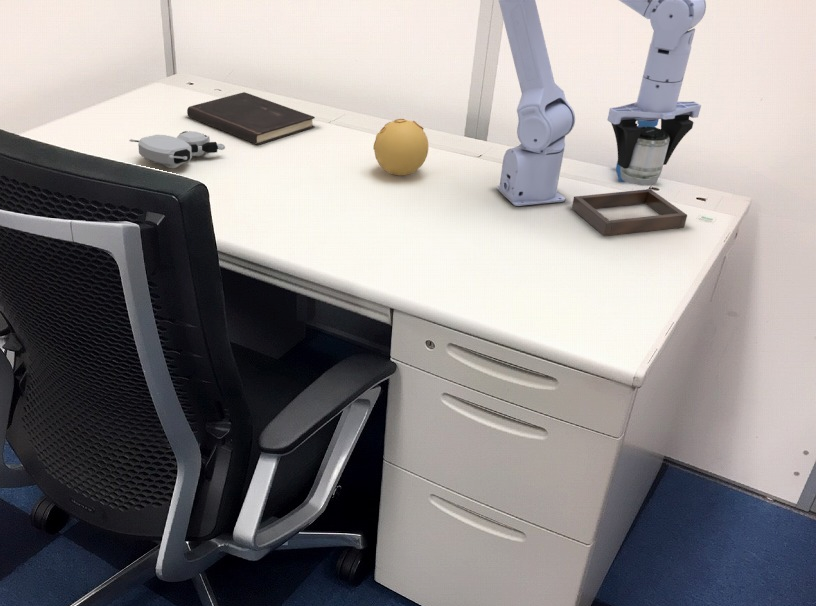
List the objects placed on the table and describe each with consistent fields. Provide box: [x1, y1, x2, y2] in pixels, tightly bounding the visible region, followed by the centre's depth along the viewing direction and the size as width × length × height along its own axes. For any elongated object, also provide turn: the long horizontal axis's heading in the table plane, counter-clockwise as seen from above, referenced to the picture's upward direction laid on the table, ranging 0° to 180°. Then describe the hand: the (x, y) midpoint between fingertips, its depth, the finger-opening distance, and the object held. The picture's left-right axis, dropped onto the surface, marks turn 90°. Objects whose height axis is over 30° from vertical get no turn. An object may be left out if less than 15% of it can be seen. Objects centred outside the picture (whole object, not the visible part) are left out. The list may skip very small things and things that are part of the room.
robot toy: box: [129, 130, 226, 169], centre depth 162 cm, size 12×4×15 cm
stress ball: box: [373, 118, 429, 176], centre depth 155 cm, size 10×10×10 cm
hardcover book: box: [186, 91, 316, 146], centre depth 180 cm, size 16×23×2 cm
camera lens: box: [620, 126, 670, 186], centre depth 135 cm, size 6×6×8 cm
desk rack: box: [571, 188, 688, 237], centre depth 142 cm, size 14×11×2 cm
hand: (641, 164), depth 136 cm, fingers closed on camera lens, 6 cm apart
